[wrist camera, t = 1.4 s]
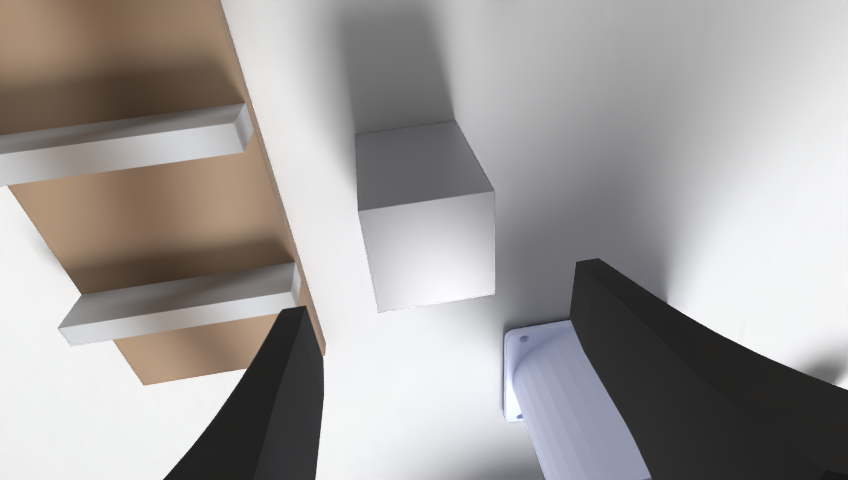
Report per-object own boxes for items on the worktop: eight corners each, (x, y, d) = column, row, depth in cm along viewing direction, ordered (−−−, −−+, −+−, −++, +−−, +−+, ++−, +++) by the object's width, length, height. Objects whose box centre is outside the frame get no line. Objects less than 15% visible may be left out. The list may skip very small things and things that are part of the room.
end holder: (198, -70, 14) (169, -69, 12) (325, 343, 24) (323, 387, 22) (-118, -35, 13) (-214, -27, 11) (149, 372, 24) (127, 420, 21)
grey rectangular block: (455, 120, 18) (494, 190, 13) (460, 206, 21) (495, 294, 16) (355, 134, 18) (357, 211, 13) (371, 220, 20) (378, 313, 16)
